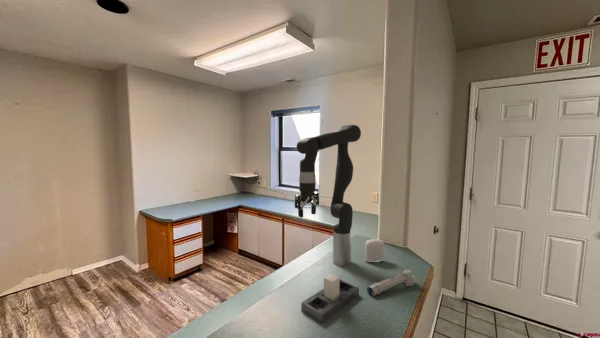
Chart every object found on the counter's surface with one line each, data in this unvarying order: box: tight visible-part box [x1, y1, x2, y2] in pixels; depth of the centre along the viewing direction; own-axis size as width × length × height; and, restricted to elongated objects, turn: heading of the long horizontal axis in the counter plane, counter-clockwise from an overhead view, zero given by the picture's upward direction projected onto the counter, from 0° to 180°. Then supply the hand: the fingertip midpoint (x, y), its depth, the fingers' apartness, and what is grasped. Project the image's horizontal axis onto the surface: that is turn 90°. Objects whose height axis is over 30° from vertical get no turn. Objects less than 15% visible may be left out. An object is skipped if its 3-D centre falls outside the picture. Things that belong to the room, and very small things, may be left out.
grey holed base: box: [300, 279, 360, 324], centre depth 93 cm, size 24×10×3 cm, turn 135°
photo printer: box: [364, 238, 385, 263], centre depth 129 cm, size 10×4×12 cm, turn 98°
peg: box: [323, 273, 341, 301], centre depth 93 cm, size 4×4×10 cm
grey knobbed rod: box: [366, 269, 415, 297], centre depth 103 cm, size 5×7×25 cm
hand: (307, 215), depth 111 cm, fingers open, 8 cm apart
